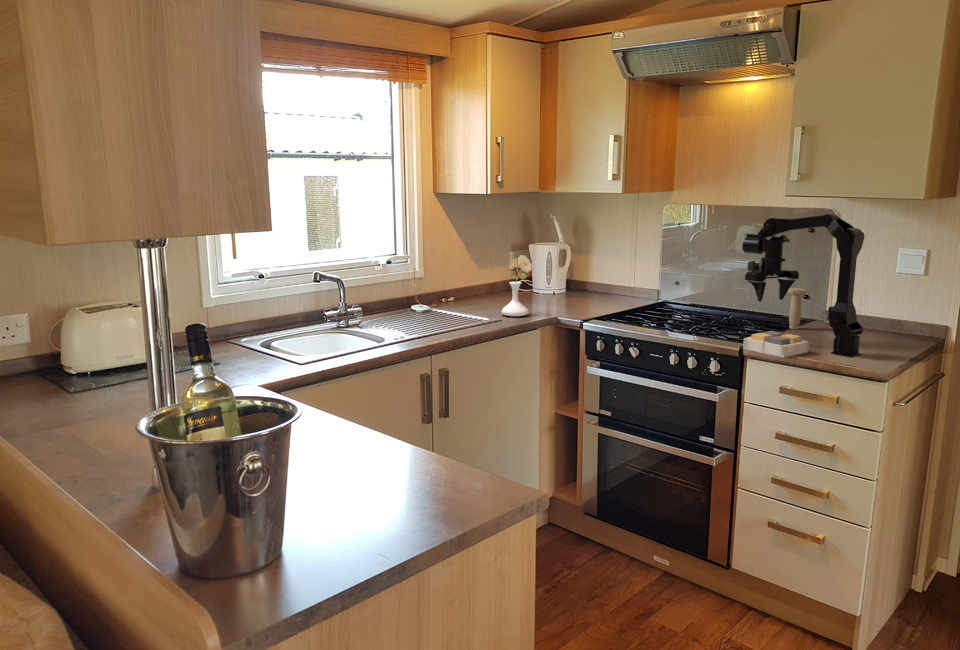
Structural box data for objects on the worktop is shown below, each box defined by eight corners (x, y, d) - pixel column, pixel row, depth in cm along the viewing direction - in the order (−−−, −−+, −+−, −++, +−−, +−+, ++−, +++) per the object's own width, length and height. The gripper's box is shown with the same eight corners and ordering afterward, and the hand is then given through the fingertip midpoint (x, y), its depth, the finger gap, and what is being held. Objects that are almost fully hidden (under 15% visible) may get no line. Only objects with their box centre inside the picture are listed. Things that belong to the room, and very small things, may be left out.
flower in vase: (510, 319, 295) (510, 257, 290) (496, 314, 305) (496, 254, 300) (537, 316, 301) (538, 255, 296) (522, 312, 311) (523, 253, 306)
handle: (800, 330, 271) (803, 290, 268) (782, 328, 275) (785, 288, 272) (805, 329, 274) (808, 289, 271) (788, 326, 279) (791, 287, 276)
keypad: (808, 352, 237) (808, 341, 236) (783, 357, 230) (784, 346, 229) (767, 343, 249) (768, 333, 248) (743, 348, 242) (743, 338, 241)
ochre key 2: (800, 345, 237) (801, 336, 237) (792, 347, 235) (793, 338, 234) (787, 342, 241) (788, 333, 240) (779, 344, 239) (780, 335, 238)
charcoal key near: (789, 347, 234) (790, 338, 233) (780, 349, 232) (781, 340, 231) (776, 345, 238) (777, 336, 237) (768, 346, 235) (768, 337, 235)
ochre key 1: (771, 344, 239) (772, 335, 239) (763, 345, 237) (763, 336, 236) (759, 341, 243) (760, 332, 242) (750, 343, 240) (751, 334, 240)
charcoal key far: (783, 341, 243) (783, 333, 242) (774, 343, 240) (775, 334, 239) (770, 339, 246) (771, 330, 246) (762, 341, 244) (762, 332, 243)
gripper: (777, 252, 260) (774, 295, 262) (735, 254, 253) (732, 299, 256) (801, 254, 249) (798, 300, 252) (758, 256, 243) (755, 303, 246)
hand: (770, 300), depth 252 cm, fingers open, 9 cm apart
